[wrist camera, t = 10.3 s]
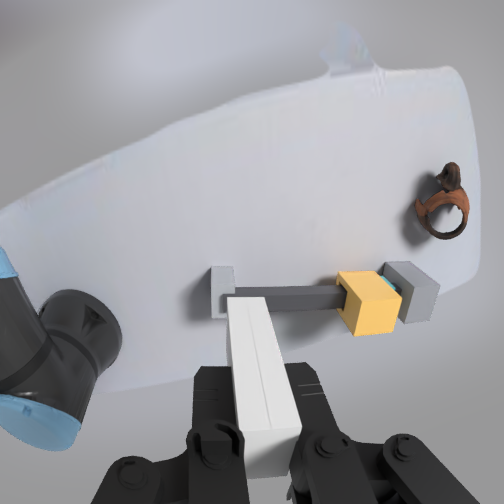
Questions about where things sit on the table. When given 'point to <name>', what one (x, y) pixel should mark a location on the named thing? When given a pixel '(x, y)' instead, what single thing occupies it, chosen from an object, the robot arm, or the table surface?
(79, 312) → the robot arm
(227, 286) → the slider rail
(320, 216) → the table surface
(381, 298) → the sleeve
